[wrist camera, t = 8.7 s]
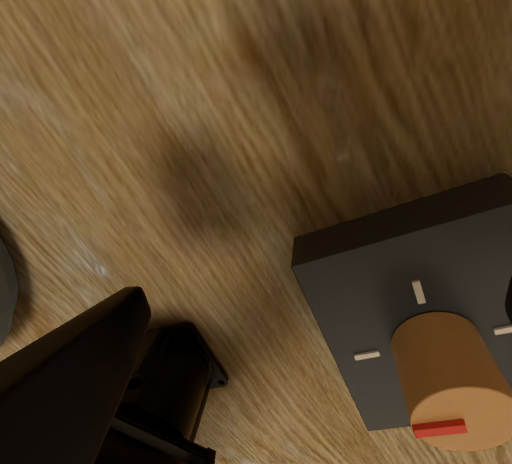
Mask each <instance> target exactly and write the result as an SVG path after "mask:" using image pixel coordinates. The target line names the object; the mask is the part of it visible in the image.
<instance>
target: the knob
mask: <svg viewBox="0 0 512 464" xmlns="http://www.w3.org/2000/svg"><path fill="white" fill-rule="evenodd" d="M391 349H392V353H393V357H394V361H395V365H396V369H397V373H398V377H399V381H400V384H401V388H402V392H403V396H404V400H405V404H406V408H407V412H408V416H409V420H410V424H411V427H412V429H413V432H414V435H415V437H416V438H420V439H422V440H423V441H424V442H426V443H428V444H430V445H432V446H435V447H438V448H441V449H445V450H450V451H459V452H470V451H480V450H485V449H490V448H493V447H496V446H499V445H501V444H503V443H505V442H507V441H509V440H510V439H512V390H511V388H510V386H509V385H508V383H507V381H506V379H505V378H504V376H503V374H502V372H501V371H500V369H499V367H498V365H497V364H496V362H495V360H494V358H493V356H492V355H491V353H490V351H489V349H488V348H487V346H486V344H485V342H484V341H483V339H482V337H481V335H480V334H479V332H478V330H477V328H476V327H475V326H474V325H473V324H472V323H471V322H470V321H469V320H467V319H466V318H464V317H462V316H459V315H457V314H453V313H448V312H429V313H424V314H420V315H417V316H414V317H412V318H410V319H408V320H407V321H405V322H404V323H402V324H401V325H400V326H399V327H398V328H397V329H396V331H395V332H394V334H393V337H392V340H391Z"/></svg>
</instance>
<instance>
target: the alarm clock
mask: <svg viewBox="0 0 512 464" xmlns="http://www.w3.org/2000/svg"><path fill="white" fill-rule="evenodd" d="M18 286H19V285H18V281H17V277H16V273H15V268H14V264H13V261H12V259H11V257H10V255H9V253H8V251H7V249H6V247H5V245H4V243H3V241H2V239H1V237H0V346H1V345H2V344H3V342H4V340H5V339H6V337H7V335H8V334H9V332H10V330H11V329H12V318H13V311H14V309H15V307H16V306H17V296H18Z"/></svg>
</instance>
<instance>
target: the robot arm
mask: <svg viewBox="0 0 512 464" xmlns="http://www.w3.org/2000/svg"><path fill="white" fill-rule="evenodd" d="M505 311H506V314H507V316H508V318H509V321H510V323H511V325H512V276H511V278H510V281H509V285H508V290H507V294H506V298H505ZM150 318H151V310H150V307H149V304H148V301H147V299H146V296H145V293H144V291H143V289H142V288H141V287H139V286H134V287H125V288H123V289H121V290H120V291H118V292H116V293H115V294H113V295H111V296H110V297H108V298H106V299H105V300H103V301H101V302H100V303H98V304H96V305H95V306H93V307H91V308H90V309H88V310H86V311H85V312H83V313H81V314H80V315H78V316H76V317H74V318H73V319H71V320H69V321H68V322H66V323H64V324H63V325H61V326H59V327H58V328H56V329H54V330H53V331H51V332H49V333H48V334H46V335H44V336H43V337H41V338H39V339H38V340H36V341H34V342H33V343H31V344H29V345H28V346H26V347H24V348H23V349H21V350H19V351H18V352H16V353H14V354H13V355H11V356H9V357H7V358H6V359H4V360H2V361H1V362H0V464H215V454H216V451H215V450H213V449H211V448H209V447H208V448H205V447H203V446H201V445H198V444H196V443H194V440H195V436H196V433H197V430H198V426H199V423H200V420H201V416H202V413H203V410H204V406H205V403H206V400H207V396H208V393H209V390H210V389H214V388H219V387H224V386H227V384H228V380H229V378H228V376H227V375H226V373H225V371H224V370H223V368H222V367H221V365H220V364H219V362H218V361H217V359H216V358H215V356H214V355H213V353H212V352H211V350H210V349H209V347H208V346H207V344H206V343H205V341H204V340H203V338H202V337H201V335H200V334H199V332H198V331H197V329H196V328H195V326H194V325H193V324H191V323H189V322H184V323H180V324H177V325H173V326H169V327H165V328H159V329H156V330H152V331H148V332H146V331H147V328H148V325H149V322H150ZM187 329H188V330H187Z"/></svg>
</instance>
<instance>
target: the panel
mask: <svg viewBox="0 0 512 464" xmlns="http://www.w3.org/2000/svg"><path fill="white" fill-rule="evenodd" d="M291 268H292V270H293V272H294V274H295V276H296V279H297V281H298V283H299V285H300V287H301V289H302V291H303V294H304V296H305V298H306V300H307V302H308V304H309V306H310V308H311V311H312V313H313V315H314V317H315V319H316V321H317V323H318V326H319V328H320V330H321V332H322V334H323V336H324V338H325V340H326V343H327V345H328V347H329V349H330V351H331V353H332V355H333V357H334V360H335V362H336V364H337V366H338V368H339V370H340V372H341V375H342V377H343V379H344V381H345V383H346V385H347V387H348V389H349V392H350V394H351V396H352V398H353V400H354V402H355V404H356V406H357V409H358V411H359V413H360V415H361V417H362V419H363V421H364V424H365V426H366V428H367V430H368V431H373V430H381V429H390V428H399V427H407V426H411V424H410V420H409V416H408V412H407V408H406V404H405V400H404V396H403V392H402V388H401V384H400V381H399V377H398V373H397V369H396V365H395V361H394V357H393V353H392V349H391V340H392V337H393V334H394V332H395V331H396V329H397V328H398V327H399V326H400V325H401V324H402V323H404V322H405V321H407V320H408V319H410V318H412V317H414V316H417V315H420V314H424V313H429V312H448V313H453V314H457V315H459V316H462V317H464V318H466V319H467V320H469V321H470V322H471V323H472V324H473V325H474V326H475V327H476V328H477V330H478V332H479V334H480V335H481V337H482V339H483V341H484V342H485V344H486V346H487V348H488V349H489V351H490V353H491V355H492V356H493V358H494V360H495V362H496V364H497V365H498V367H499V369H500V371H501V372H502V374H503V376H504V378H505V379H506V381H507V383H508V385H509V386H510V388H511V390H512V325H511V323H510V321H509V318H508V316H507V314H506V311H505V298H506V294H507V290H508V285H509V281H510V278H511V276H512V177H511V176H509V175H508V174H506V173H501V174H498V175H495V176H492V177H489V178H485V179H482V180H479V181H476V182H473V183H469V184H466V185H463V186H460V187H457V188H453V189H450V190H447V191H444V192H441V193H437V194H434V195H431V196H428V197H425V198H421V199H418V200H415V201H412V202H409V203H405V204H402V205H399V206H396V207H393V208H389V209H386V210H383V211H380V212H377V213H373V214H370V215H367V216H364V217H361V218H357V219H354V220H351V221H348V222H345V223H341V224H338V225H335V226H332V227H329V228H325V229H322V230H319V231H316V232H313V233H309V234H306V235H303V236H300V237H297V238H294V243H293V253H292V262H291Z"/></svg>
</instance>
